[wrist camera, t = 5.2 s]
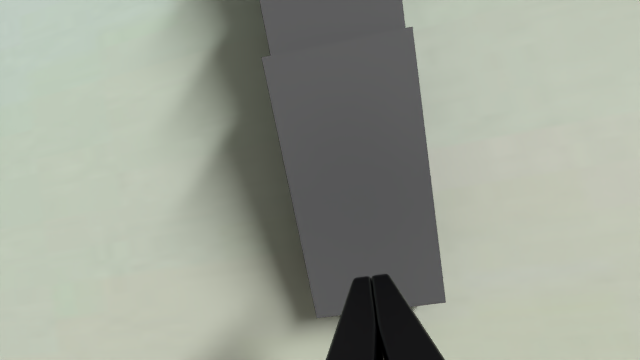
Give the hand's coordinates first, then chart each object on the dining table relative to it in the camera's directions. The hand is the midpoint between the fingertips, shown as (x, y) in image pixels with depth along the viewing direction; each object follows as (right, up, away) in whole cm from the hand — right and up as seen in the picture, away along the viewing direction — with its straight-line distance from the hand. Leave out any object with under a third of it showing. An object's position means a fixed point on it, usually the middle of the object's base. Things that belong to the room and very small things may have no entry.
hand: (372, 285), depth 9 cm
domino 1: (+1, -2, +7) cm, 7 cm away
